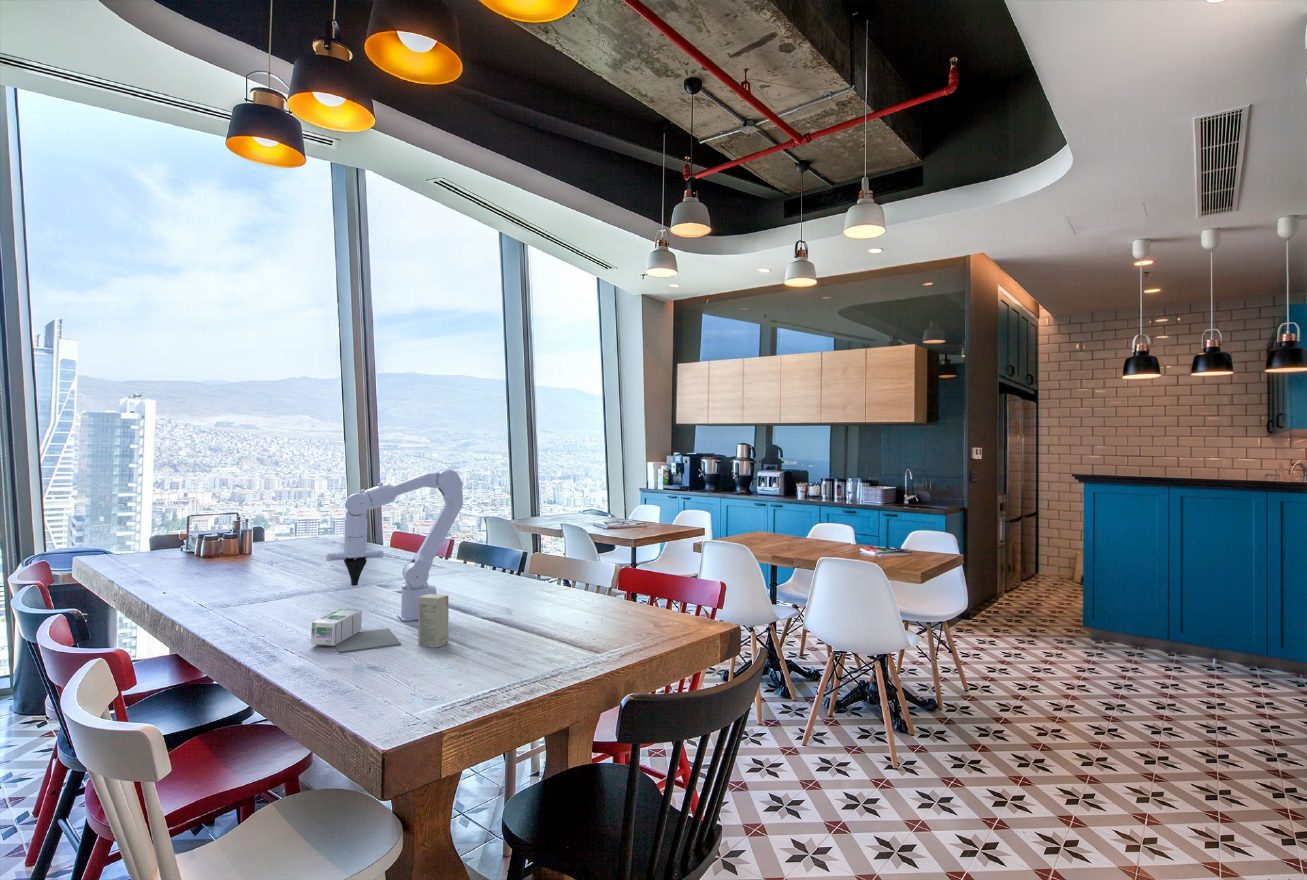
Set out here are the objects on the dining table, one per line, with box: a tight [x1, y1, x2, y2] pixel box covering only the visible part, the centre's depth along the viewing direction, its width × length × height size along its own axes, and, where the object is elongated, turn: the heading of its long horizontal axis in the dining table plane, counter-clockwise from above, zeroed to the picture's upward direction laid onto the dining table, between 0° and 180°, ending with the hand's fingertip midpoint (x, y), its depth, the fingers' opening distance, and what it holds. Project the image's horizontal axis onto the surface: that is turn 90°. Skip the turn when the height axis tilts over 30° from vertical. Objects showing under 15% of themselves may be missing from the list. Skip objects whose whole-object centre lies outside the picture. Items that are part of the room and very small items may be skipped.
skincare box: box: [417, 593, 449, 648], centre depth 165 cm, size 6×4×12 cm
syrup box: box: [310, 608, 363, 647], centre depth 168 cm, size 6×6×14 cm
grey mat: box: [334, 627, 402, 654], centre depth 167 cm, size 14×16×1 cm
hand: (354, 585), depth 185 cm, fingers closed
